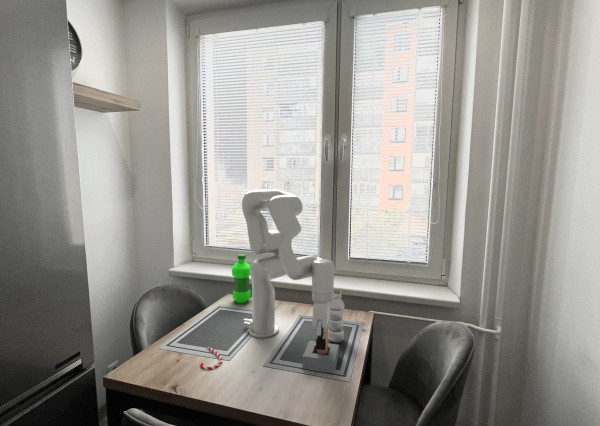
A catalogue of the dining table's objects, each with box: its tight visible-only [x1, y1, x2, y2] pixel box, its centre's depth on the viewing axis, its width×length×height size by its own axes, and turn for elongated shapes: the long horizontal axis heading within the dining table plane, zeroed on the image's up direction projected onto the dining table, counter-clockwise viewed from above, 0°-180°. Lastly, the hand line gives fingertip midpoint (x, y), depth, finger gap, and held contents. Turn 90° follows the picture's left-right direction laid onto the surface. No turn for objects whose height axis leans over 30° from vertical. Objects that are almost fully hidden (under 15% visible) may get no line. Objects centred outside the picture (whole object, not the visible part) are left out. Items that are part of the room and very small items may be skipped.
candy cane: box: [199, 346, 223, 371], centre depth 116 cm, size 8×1×15 cm
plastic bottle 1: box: [231, 253, 252, 304], centre depth 170 cm, size 10×10×25 cm
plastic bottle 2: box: [328, 290, 345, 344], centre depth 130 cm, size 6×7×20 cm
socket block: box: [301, 340, 340, 374], centre depth 115 cm, size 11×11×4 cm
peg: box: [317, 327, 329, 355], centre depth 114 cm, size 4×4×10 cm
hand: (322, 345), depth 114 cm, fingers closed on peg, 4 cm apart
